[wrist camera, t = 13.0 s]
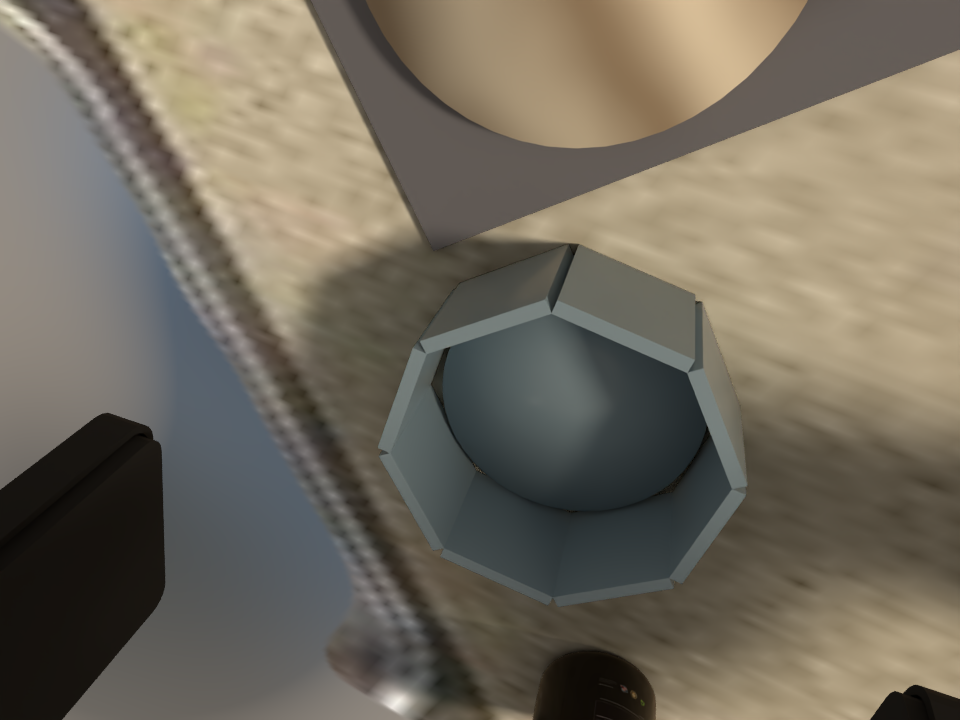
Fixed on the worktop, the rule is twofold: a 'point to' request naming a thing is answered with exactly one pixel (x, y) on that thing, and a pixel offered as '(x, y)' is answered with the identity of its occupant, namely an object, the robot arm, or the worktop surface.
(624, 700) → the supplement bottle
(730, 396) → the bowl
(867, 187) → the worktop surface
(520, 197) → the mat
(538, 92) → the lid
